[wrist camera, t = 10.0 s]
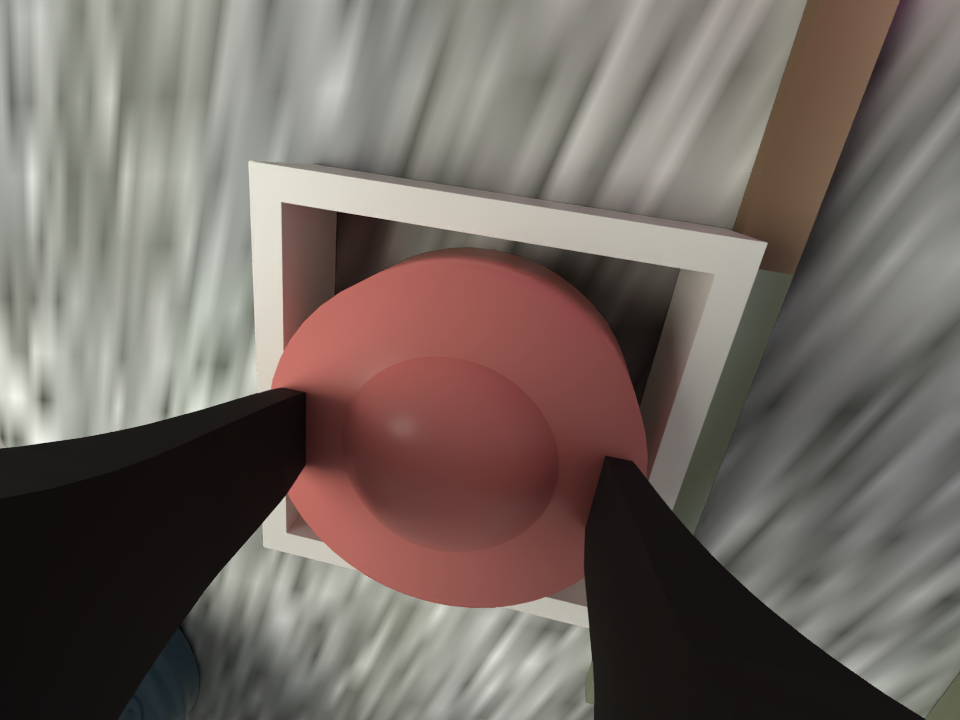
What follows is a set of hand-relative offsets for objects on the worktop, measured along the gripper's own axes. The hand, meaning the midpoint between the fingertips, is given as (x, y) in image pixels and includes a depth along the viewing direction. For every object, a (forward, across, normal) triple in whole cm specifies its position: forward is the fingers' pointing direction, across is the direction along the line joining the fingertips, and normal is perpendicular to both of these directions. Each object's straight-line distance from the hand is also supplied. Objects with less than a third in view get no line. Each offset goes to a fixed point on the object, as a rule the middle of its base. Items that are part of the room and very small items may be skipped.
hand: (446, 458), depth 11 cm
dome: (+5, 0, 0) cm, 5 cm away
